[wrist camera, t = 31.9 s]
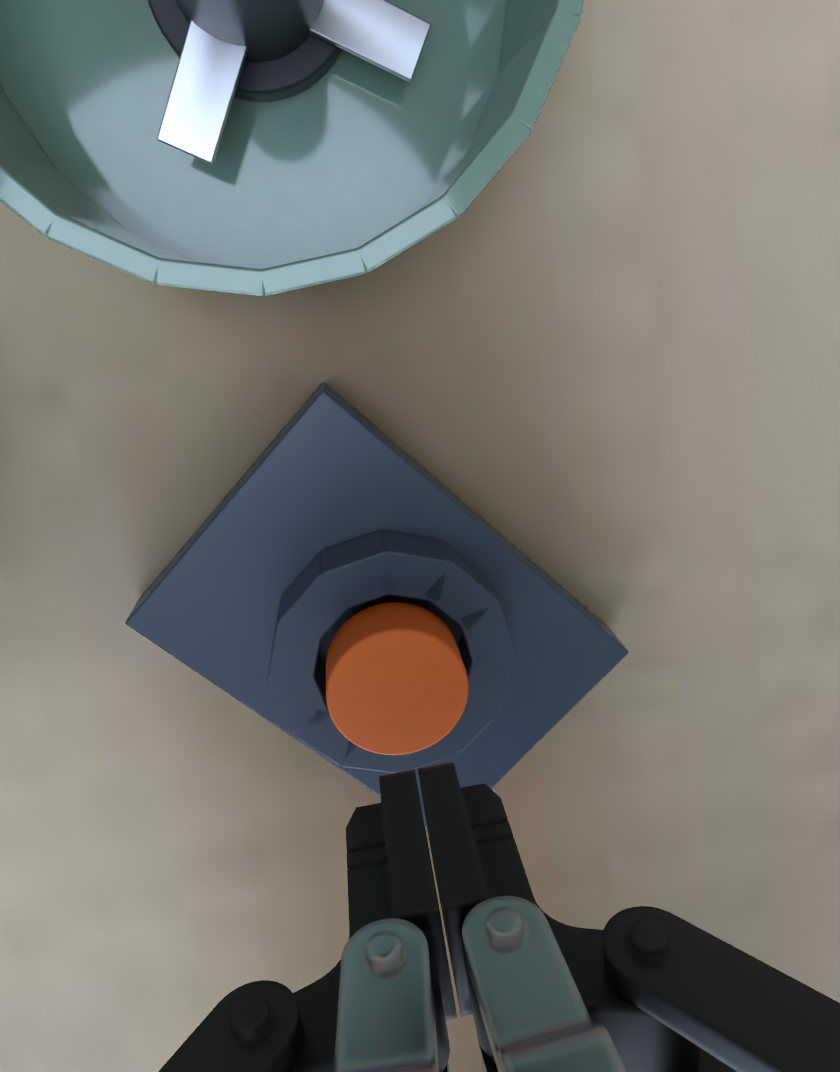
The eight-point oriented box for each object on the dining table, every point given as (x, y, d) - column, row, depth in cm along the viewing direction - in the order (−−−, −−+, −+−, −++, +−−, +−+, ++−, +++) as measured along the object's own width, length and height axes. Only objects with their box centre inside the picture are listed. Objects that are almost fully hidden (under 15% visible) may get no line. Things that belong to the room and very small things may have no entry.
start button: (485, 652, 21) (498, 684, 20) (398, 742, 22) (403, 780, 20) (386, 575, 20) (392, 601, 19) (298, 671, 21) (295, 705, 19)
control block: (610, 628, 25) (653, 681, 22) (434, 805, 26) (450, 880, 23) (322, 381, 22) (322, 400, 18) (138, 599, 23) (106, 653, 20)
